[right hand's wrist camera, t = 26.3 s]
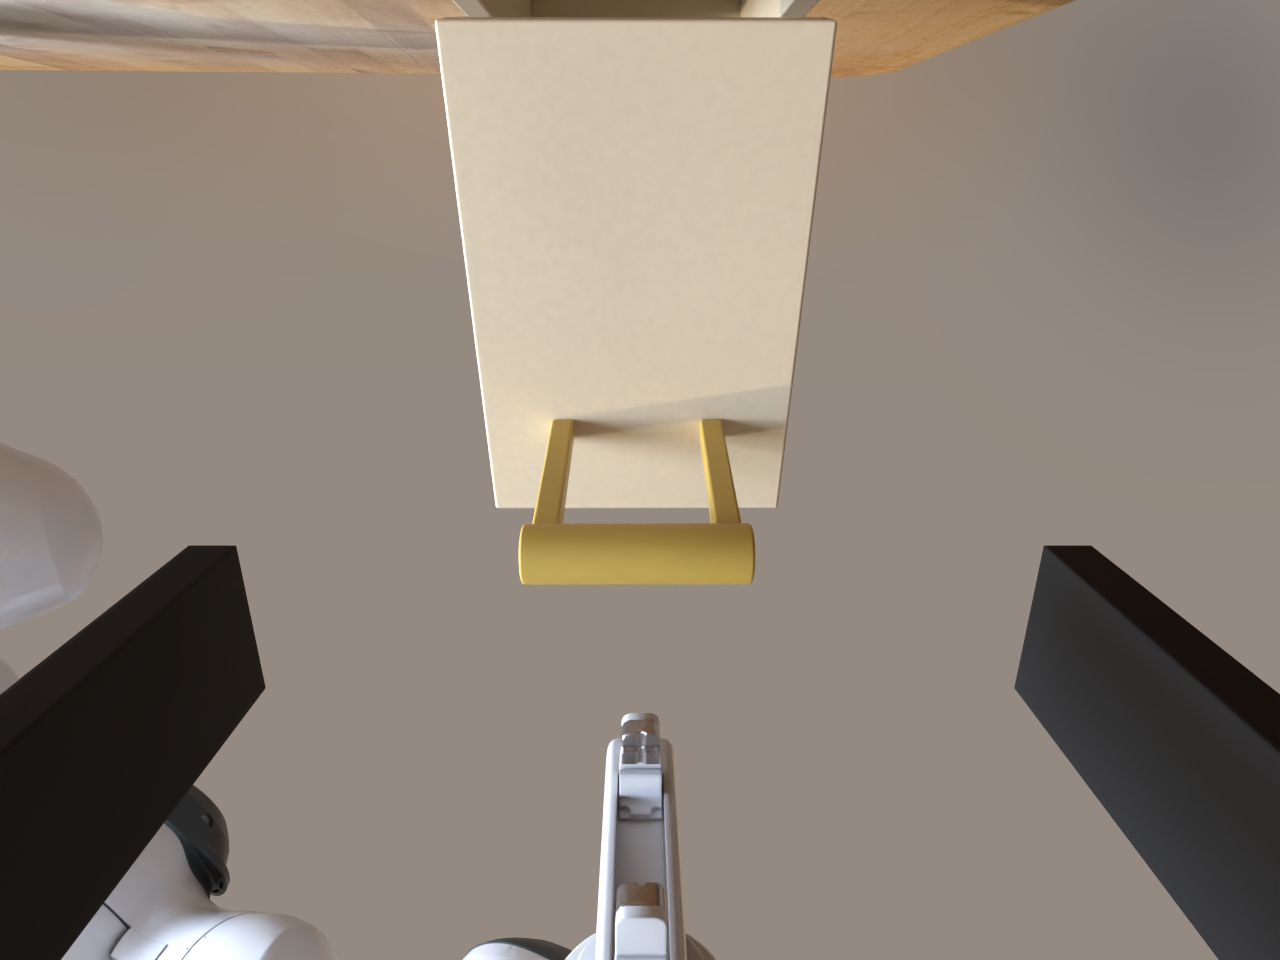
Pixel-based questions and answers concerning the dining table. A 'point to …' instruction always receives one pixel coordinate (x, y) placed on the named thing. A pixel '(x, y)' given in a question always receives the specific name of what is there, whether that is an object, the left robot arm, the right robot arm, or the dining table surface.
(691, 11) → the chest
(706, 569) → the lid
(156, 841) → the left robot arm
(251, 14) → the dining table surface
